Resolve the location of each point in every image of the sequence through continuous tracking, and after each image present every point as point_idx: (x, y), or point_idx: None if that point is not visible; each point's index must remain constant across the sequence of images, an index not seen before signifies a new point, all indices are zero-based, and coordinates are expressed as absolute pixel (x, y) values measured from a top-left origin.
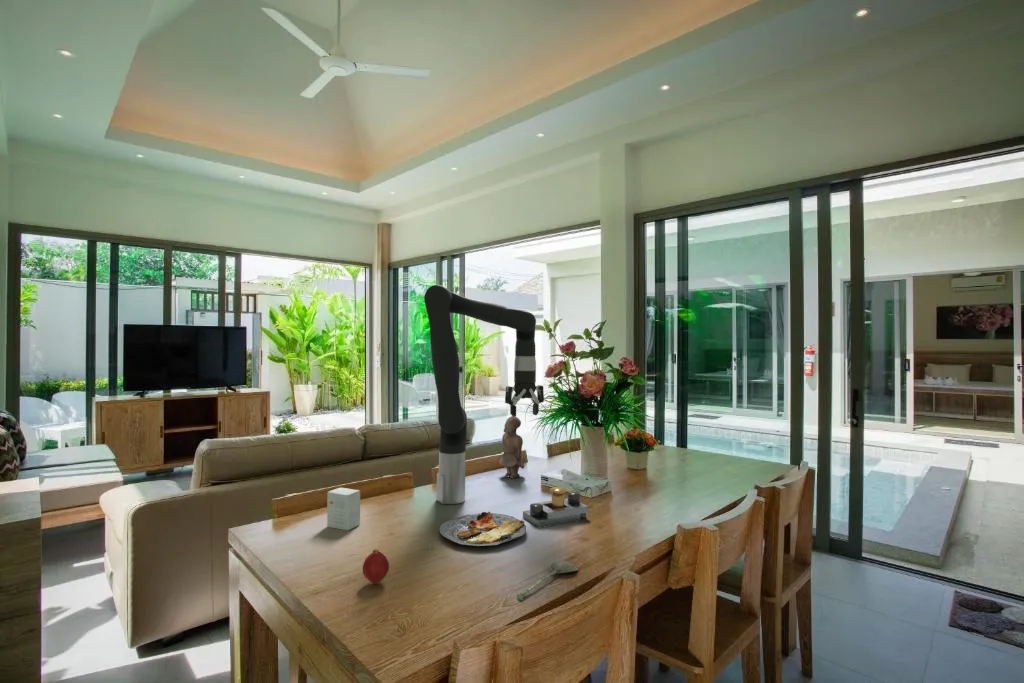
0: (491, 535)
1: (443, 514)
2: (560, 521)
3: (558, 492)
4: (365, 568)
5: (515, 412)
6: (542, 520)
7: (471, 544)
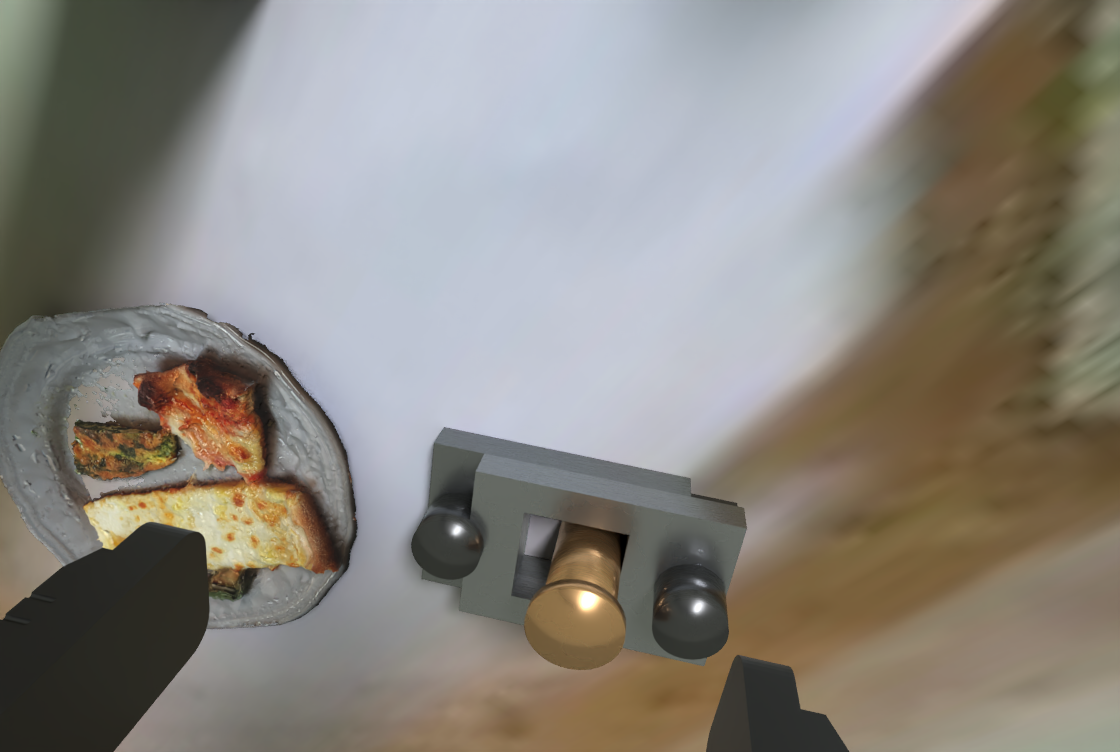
0: None
1: (86, 130)
2: None
3: (542, 654)
4: None
5: (131, 701)
6: (439, 582)
7: None
